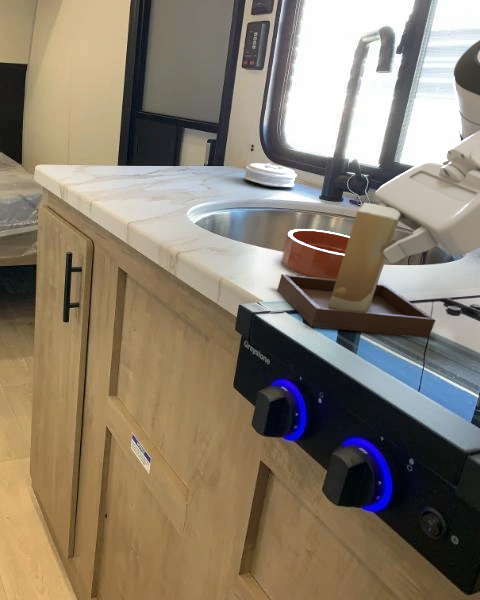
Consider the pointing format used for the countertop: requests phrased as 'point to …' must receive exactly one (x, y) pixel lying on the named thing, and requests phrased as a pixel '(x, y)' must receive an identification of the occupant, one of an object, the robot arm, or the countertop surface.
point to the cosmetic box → (364, 257)
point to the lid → (270, 175)
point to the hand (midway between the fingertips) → (370, 244)
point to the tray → (379, 319)
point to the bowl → (315, 252)
